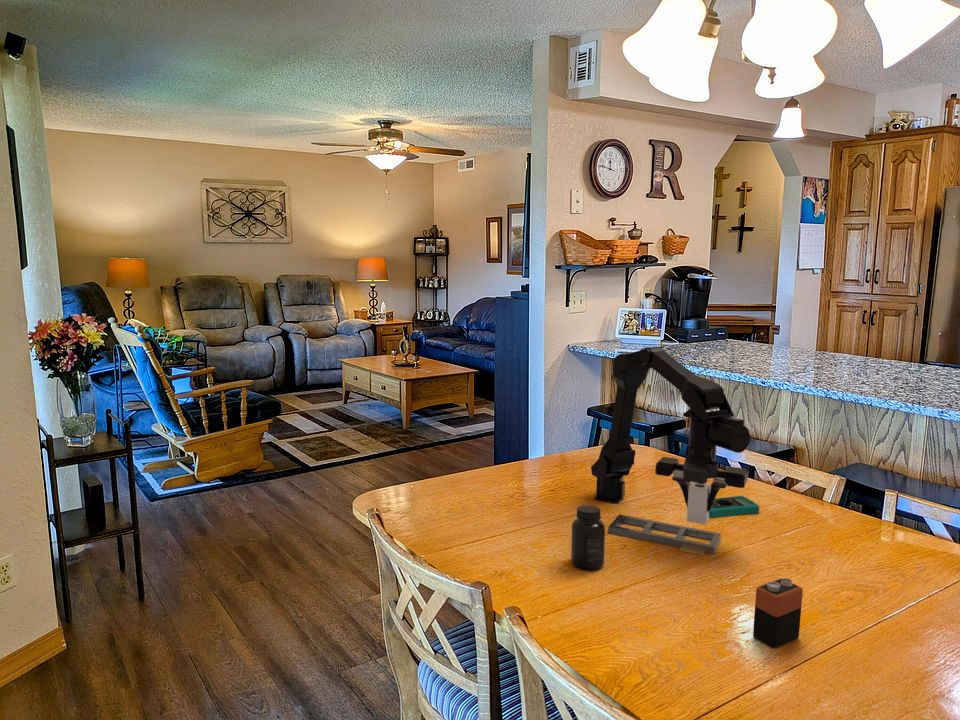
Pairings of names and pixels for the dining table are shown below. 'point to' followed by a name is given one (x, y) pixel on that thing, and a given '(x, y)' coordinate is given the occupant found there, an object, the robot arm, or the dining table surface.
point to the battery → (777, 612)
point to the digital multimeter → (733, 507)
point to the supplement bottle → (588, 539)
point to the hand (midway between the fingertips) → (698, 509)
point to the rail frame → (677, 541)
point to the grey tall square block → (698, 503)
